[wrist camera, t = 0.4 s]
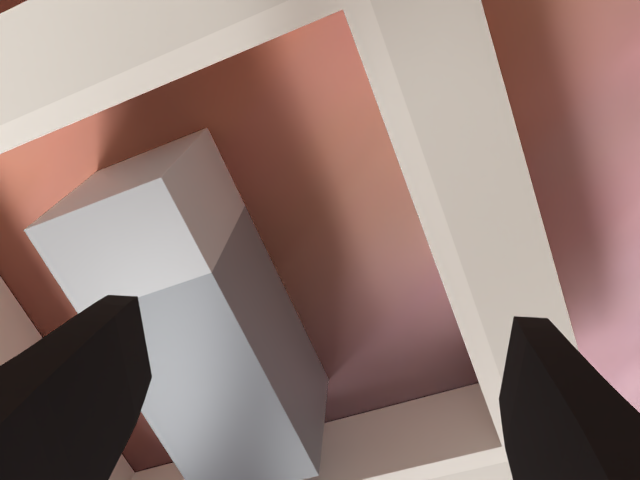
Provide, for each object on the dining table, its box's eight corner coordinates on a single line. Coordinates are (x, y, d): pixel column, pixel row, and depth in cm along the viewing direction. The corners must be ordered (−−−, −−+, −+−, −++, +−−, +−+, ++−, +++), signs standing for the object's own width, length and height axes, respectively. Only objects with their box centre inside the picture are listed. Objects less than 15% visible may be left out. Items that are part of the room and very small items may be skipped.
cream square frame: (110, 534, 30) (78, 604, 26) (-195, 125, 22) (-292, 155, 18) (586, 422, 24) (617, 492, 21) (416, -167, 17) (426, -194, 13)
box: (231, 406, 26) (200, 503, 21) (96, 171, 22) (23, 229, 17) (328, 379, 25) (319, 475, 20) (207, 127, 21) (161, 177, 16)
